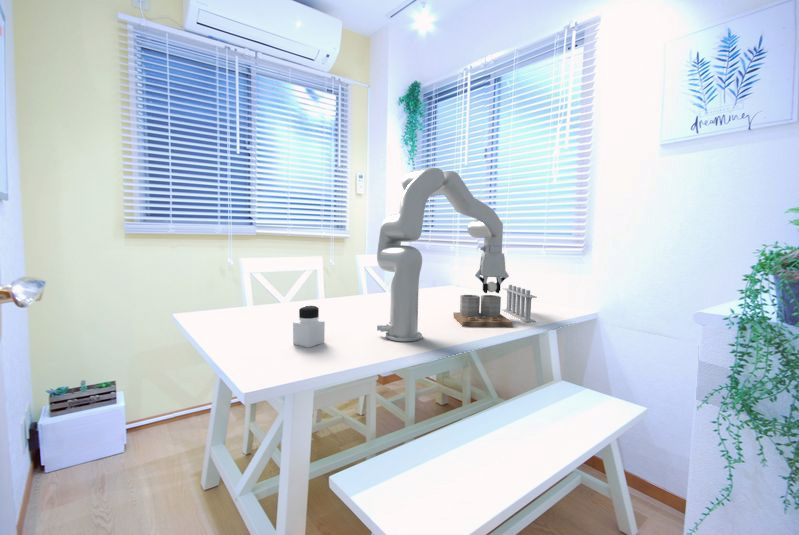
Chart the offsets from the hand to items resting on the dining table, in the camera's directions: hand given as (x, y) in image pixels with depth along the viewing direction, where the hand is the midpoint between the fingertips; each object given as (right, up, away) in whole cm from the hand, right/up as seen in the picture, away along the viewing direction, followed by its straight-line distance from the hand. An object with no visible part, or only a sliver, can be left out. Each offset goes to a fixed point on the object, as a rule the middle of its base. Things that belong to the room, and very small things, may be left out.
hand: (491, 292), depth 160 cm
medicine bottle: (-68, -14, -40) cm, 80 cm away
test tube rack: (+14, -12, +9) cm, 20 cm away
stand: (-5, -12, -4) cm, 14 cm away
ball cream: (0, +2, 0) cm, 2 cm away
